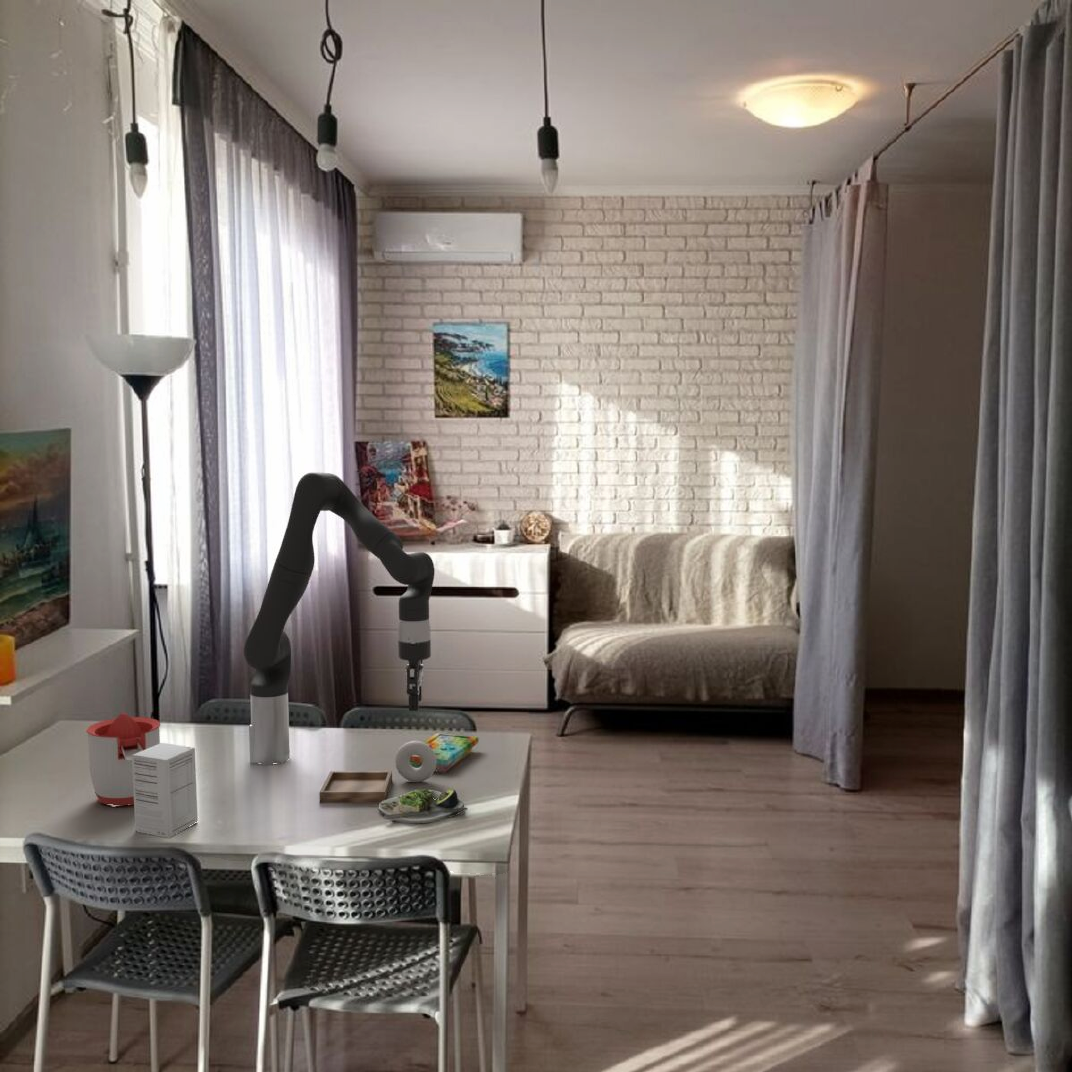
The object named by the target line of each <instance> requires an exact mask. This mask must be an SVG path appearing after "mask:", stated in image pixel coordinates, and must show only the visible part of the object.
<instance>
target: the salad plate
mask: <svg viewBox="0 0 1072 1072" xmlns="http://www.w3.org/2000/svg"><path fill="white" fill-rule="evenodd" d="M433 798H434V799H436V800H434V799H433ZM464 806H465V803H464V802H463V801H462V800H460V799H459V798H458V793H457V791H456V790H455V789H454V788H450V789H447V790H446V791H443V792H441V791H438V790H434V789H416V790H411V791H410V792H407V793H404V794H401V795H398V796H395V797H394V796H393V797H391V798H386V800H384V801H382V802H381V803H378V808H377V809H378V811H379V812H381V813H382V815H383V820H388V821H395V822H399V823H404V824H405V823H408V824H409V823H410V824H428V823H434V822H437V821H440V820H444V819H446V818H448V819H449V818H450V816H451V817H453V815H454V816H456V814H457V815H459V814H461V813H462V812H465V811H467V810H468V809H469V808H468V807H467V806H466V807H464ZM397 807H398V809H399V810H398V811H399V812H396V811H395V812H394V810H395V808H397ZM458 813H459V814H458Z"/></svg>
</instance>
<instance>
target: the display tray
mask: <svg viewBox="0 0 1072 1072" xmlns="http://www.w3.org/2000/svg"><path fill="white" fill-rule="evenodd" d="M392 784H393V771H392V770H390V771H389V770H386V771H384V770H381V771H380V770H377V771H376V770H375V771H374V770H372V771H371V770H364V771H361V770H359V771H358V770H357V771H356V770H355V771H354V770H352V771H351V770H350V771H349V770H347V771H343V770H342V771H340V770H339V771H337V770H333V771H332V770H331V771H329V773H328V775H327V776H326V779H325V780H324V783H323V784H322V787H321V789H320V790H319V804H338V803H339V804H363V803H364V804H380V803H381V802H382V801H384V800H387V799H388V798H387V797H388V794H389V793H390V789H391V786H392Z"/></svg>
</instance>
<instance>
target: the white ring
mask: <svg viewBox="0 0 1072 1072" xmlns="http://www.w3.org/2000/svg"><path fill="white" fill-rule="evenodd" d="M412 755H418V756H419V757H420V758H421V759H422V766H421V767H419V768H414V767H412V766H411V764H410V761H409V759H410V757H411V756H412ZM394 761H395V762H394V763H395V767H396V770H397V772H398V773H399V775H400V776H401V777H402V778H403V779H405V780H407V781H408V782H412V783H422V782H425V781H427V780H428V779H430V777H432V776H433V775H434V772H436V771H435V769H436V763H437V761H436V755H435V753H434V751H433V750H432V749H431V748H430V746H429V745H427V744H425V743H424V741H420V740H411V741H410V740H409V741H408V742H406V743H403V744H402V745H401V746H400V747H399V748H398V750H397V752H396V755H395V760H394Z"/></svg>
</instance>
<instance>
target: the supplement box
mask: <svg viewBox="0 0 1072 1072" xmlns="http://www.w3.org/2000/svg"><path fill="white" fill-rule="evenodd" d="M196 769H197V768H196V748H195V747H194V746H193V747H191V746H186V745H180V744H179V745H178V744H173V743H167V742H166V743H165V742H160V744H158V745H155V746H153V747H150V748H148V749H145V750H143V751H141V752H138V753H136V754H134V755H132V770H133V791H134V805H133V807H134V808H133V809H134V811H133V812H134V829H135V830H134V831H135V832H136V831H137V832H136V833H140V832H141V833H142V834H145V833H146V835H150V834H152V835H151V836H157V837H161V836H162V837H161V838H163V837H164V838H166V837H167V838H166V839H169V838H172V837H173V836H176V835H177V834H176V833H178V834H179V833H181V832H182V831H181V830H183V831H185V830H187V829H188V828H187V827H189V826H190V825H192V824H194V823H195V822H197V821H199V820H198V818H199V817H198V800H197V796H198V795H197V793H198V792H197V770H196ZM186 828H187V829H186ZM189 828H190V827H189ZM184 829H185V830H184ZM180 831H181V832H180ZM141 833H140V834H141ZM175 834H176V835H175Z"/></svg>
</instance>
